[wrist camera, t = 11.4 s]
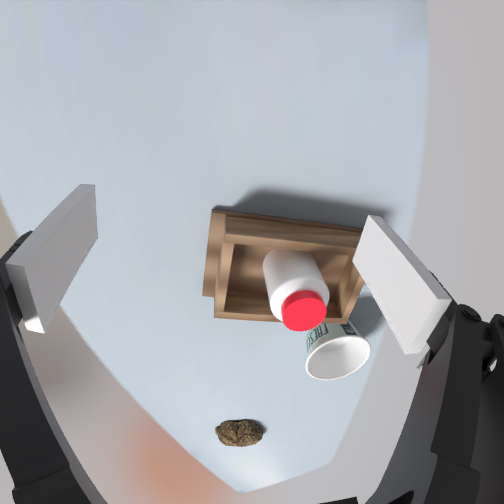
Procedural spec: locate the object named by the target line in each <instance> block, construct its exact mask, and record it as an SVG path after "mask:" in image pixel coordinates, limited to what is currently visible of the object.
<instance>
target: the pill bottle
mask: <svg viewBox="0 0 504 504" xmlns="http://www.w3.org/2000/svg"><path fill="white" fill-rule="evenodd" d="M263 274H264V279H265V284H266V289H267V294H268V298H269V303H270V308H271V311H272V313H273V314H274V316H275V317H276V318H277V319H279V320H281V321H283V323H284V325H285V326H286V327H287V328H289V329H291V330H293V331H307V330H310V329H313V328H315V327H316V326H318V325H319V324H320V323H321V322H322V321H323V320H324V318H325V316H326V312H327V310H326V306H327V305H328V302H329V290H328V287H327V285H326V283H325V281H324V278H323V276H322V274H321V272H320V270H319V267H318V265H317V263H316V261H315V259H314V257H313V254H312V253H311V252H310V251H300V250H291V249H281V248H273V249H272V250H271V251H270V252H269V253H268V254H267V255H266V257H265V259H264V261H263Z"/></svg>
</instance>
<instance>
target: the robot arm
mask: <svg viewBox="0 0 504 504" xmlns="http://www.w3.org/2000/svg"><path fill="white" fill-rule="evenodd" d="M97 238H98V231H97V218H96V199H95V185H89V184H80V185H79V186H78V187H77V188H76V189H75V190H74V191H73V192H72V193H70V194H69V195H68V196H67V197H66V198H65V199H64V200H63V201H62V202H61V203H60V204H59V205H58V206H57V207H56V208H55V209H54V210H53V211H52V212H51V213H50V214H49V215H48V216H47V217H46V218H45V219H44V220H43V222H42V223H41V224H40V225H39V226H38V227H37V228H36V229H35V230H34V231H29V232H27V233H26V234H24V235H22V236H21V237H20V238H19V239H18V240H17V241H16V242H15V243H14V245H13V246H11V248H10V249H9V251H7V252H6V253H5V255H3V257H2V258H1V259H0V449H1V452H2V454H3V457H4V460H5V462H6V465H7V466H8V469H9V472H10V474H11V476H12V479H13V482H14V486H15V487H14V489H13V490H12V495H13V499H14V502H15V504H107V502H106V501H105V500H104V498H103V497H102V496H101V494H100V493H99V492H98V490H97V489H96V487H95V486H94V484H93V483H92V481H91V480H90V478H89V477H88V475H87V473H86V472H85V470H84V469H83V467H82V465H81V464H80V462H79V460H78V459H77V457H76V455H75V454H74V452H73V450H72V448H71V447H70V445H69V443H68V441H67V439H66V438H65V436H64V434H63V432H62V430H61V428H60V426H59V424H58V423H57V421H56V418H55V416H54V414H53V412H52V410H51V408H50V406H49V404H48V401H47V399H46V397H45V395H44V393H43V390H42V388H41V386H40V383H39V381H38V378H37V376H36V373H35V371H34V368H33V366H32V363H31V360H30V358H29V356H28V352H27V349H26V347H25V344H24V341H23V338H22V335H21V332H20V329H19V327H18V324H19V322H20V321H21V319H22V318H23V320H24V323H25V325H26V328H27V329H28V330H31V331H35V332H41V333H45V331H46V329H47V327H48V325H49V323H50V321H51V319H52V317H53V315H54V313H55V312H56V309H57V308H58V306H59V304H60V302H61V300H62V298H63V296H64V295H65V293H66V291H67V289H68V287H69V285H70V284H71V282H72V280H73V278H74V277H75V275H76V273H77V271H78V270H79V268H80V266H81V264H82V263H83V261H84V259H85V258H86V256H87V254H88V253H89V251H90V249H91V248H92V246H93V245H94V243H95V241H96V240H97ZM352 262H353V263H354V265H355V267H356V268H357V270H358V272H359V273H360V275H361V277H362V278H363V280H364V282H365V283H366V285H367V287H368V289H369V290H370V292H371V294H372V295H373V297H374V299H375V301H376V302H377V304H378V306H379V308H380V309H381V311H382V313H383V315H384V317H385V318H386V320H387V322H388V324H389V326H390V327H391V329H392V331H393V333H394V335H395V337H396V339H397V340H398V342H399V344H400V346H401V348H402V350H403V352H404V354H414V353H419V352H420V351H421V349H422V348H423V346H424V345H425V343H426V342H427V343H428V345H429V347H430V349H429V351H428V352H427V354H426V355H425V357H424V358H423V359H422V361H421V362H420V364H419V365H418V367H417V368H418V369H419V368H420V367H421V366H423V367H422V371H421V375H420V378H419V382H418V385H417V388H416V392H415V395H414V398H413V401H412V404H411V407H410V410H409V413H408V416H407V419H406V422H405V424H404V427H403V430H402V433H401V435H400V438H399V441H398V443H397V446H396V448H395V450H394V453H393V456H392V458H391V460H390V462H389V465H388V467H387V469H386V471H385V474H384V476H383V478H382V480H381V483H380V484H379V486H378V488H377V490H376V491H375V493H374V494H373V495H372V496H371V497H370V498H369V499H368V501H367V502H366V503H365V504H504V316H502V315H500V314H495V315H494V317H493V318H492V320H491V321H490V323H487V322H484V321H482V319H481V317H480V315H479V314H478V313H477V312H476V311H475V310H474V309H472V308H471V307H469V306H467V305H464V304H459V305H457V303H456V302H455V301H454V299H453V298H452V297H451V295H450V294H449V293H448V292H447V290H446V289H445V288H443V285H442V284H441V283H440V282H438V279H437V278H436V277H435V276H434V274H433V273H431V272H430V271H429V270H428V269H427V268H426V267H425V266H424V264H423V263H422V262H421V261H420V260H419V258H418V257H417V256H416V255H415V254H414V253H413V251H412V250H411V249H410V248H409V247H408V246H407V245H406V244H405V242H404V241H403V240H402V239H401V238H400V237H399V236H398V235H397V234H396V232H395V231H394V230H393V229H392V228H391V227H390V226H389V225H388V224H387V223H386V222H385V221H384V219H383V218H382V217H379V216H373V215H368V217H367V220H366V223H365V226H364V229H363V232H362V235H361V238H360V241H359V244H358V246H357V249H356V252H355V255H354V258H353V260H352ZM496 359H497V362H496V366H495V368H494V370H493V371H491V370H490V366H491V365H492V364H493V363H494V361H495V360H496ZM320 504H358V502H357V497H352V498H348V499H343V500H338V501H332V502H327V503H320Z"/></svg>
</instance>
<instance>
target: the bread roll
mask: <svg viewBox="0 0 504 504" xmlns="http://www.w3.org/2000/svg"><path fill="white" fill-rule="evenodd" d="M215 431H216V434H217V435H218V438H219V440H220V441H221V442H222V443H223V444H224V445H226V446H239V447H245V446H248V445H253V444H256V442H258V441H260V440H261V439H262V436H263V431H262V429H261V428H260V426H259V425H256V424H255V423H254V422H253V421H249V420H244V421H239V422H233V421H224V422H222V423H221V424H220V426H218V427H216V429H215Z"/></svg>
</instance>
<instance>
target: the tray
mask: <svg viewBox="0 0 504 504" xmlns="http://www.w3.org/2000/svg"><path fill="white" fill-rule="evenodd" d="M362 232H363V229H361V228H354V227H347V226H340V225H333V224H326V223H319V222H311V221H304V220H296V219H289V218H281V217H273V216H265V215H256V214H248V213H239V212H230V211H221V210H212V212H211V221H210V229H209V237H208V246H207V255H206V264H205V273H204V283H203V294H202V296H206V297H214V318H224V319H238V320H253V321H270V322H283V321H281V320H279V319H277V318H276V317H275V316H274V314H273V313H272V311H271V308H270V303H269V298H268V294H267V289H266V284H265V279H264V274H263V261H264V259H265V257H266V255H267V254H268V253H269V252H270V251H271V250H272V249H273V248H281V249H291V250H300V251H310V252H311V253H312V254H313V257H314V259H315V261H316V263H317V265H318V267H319V270H320V272H321V274H322V276H323V278H324V281H325V283H326V285H327V287H328V290H329V302H328V305H327V306H326V310H327V312H326V316H325V318H324V320H323V321H322V322H321V323H320V324H346V323H347V321H348V319H349V317H350V314H351V312H352V310H353V308H354V305H355V303H356V301H357V299H358V296H359V294H360V292H361V289H362V287H363V285H364V280H363V278H362V277H361V275H360V273H359V272H358V270H357V268H356V267H355V265H354V263H353V262H352V260H353V258H354V255H355V252H356V249H357V246H358V244H359V241H360V238H361V235H362Z"/></svg>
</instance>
